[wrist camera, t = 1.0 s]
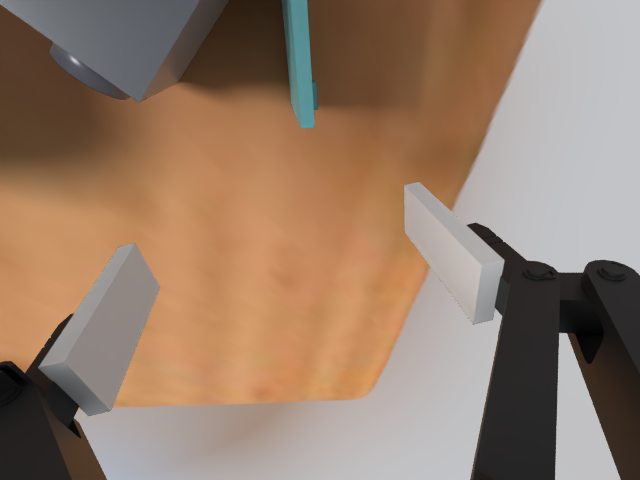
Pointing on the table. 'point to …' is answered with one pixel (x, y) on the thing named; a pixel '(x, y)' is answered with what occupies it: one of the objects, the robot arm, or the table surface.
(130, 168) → the table surface
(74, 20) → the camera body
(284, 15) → the teal flat slab
